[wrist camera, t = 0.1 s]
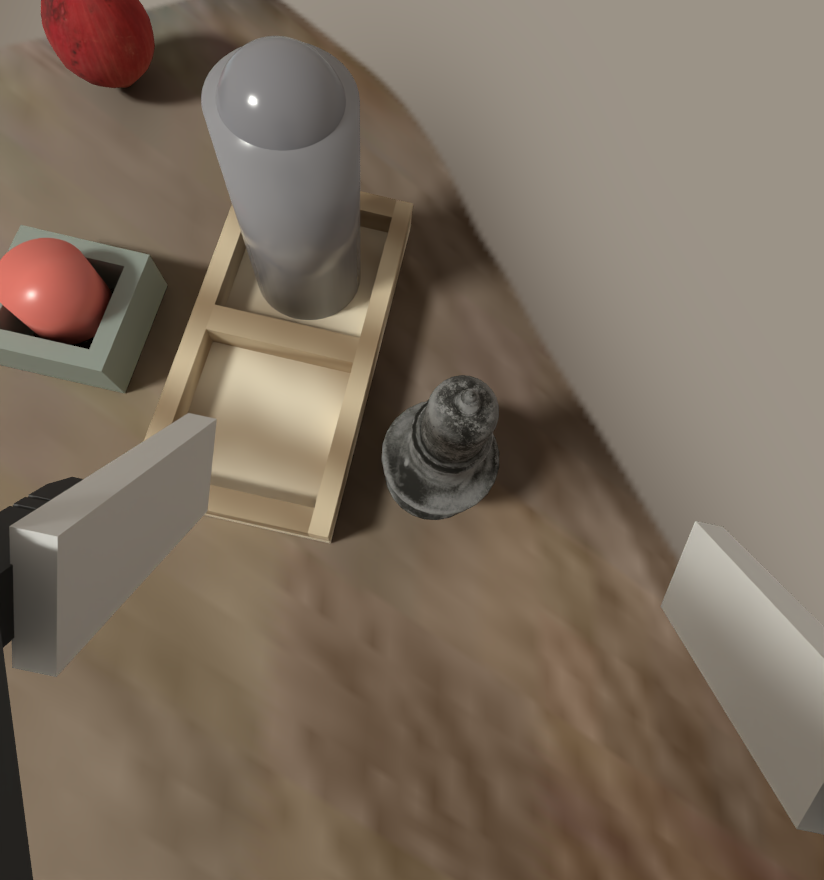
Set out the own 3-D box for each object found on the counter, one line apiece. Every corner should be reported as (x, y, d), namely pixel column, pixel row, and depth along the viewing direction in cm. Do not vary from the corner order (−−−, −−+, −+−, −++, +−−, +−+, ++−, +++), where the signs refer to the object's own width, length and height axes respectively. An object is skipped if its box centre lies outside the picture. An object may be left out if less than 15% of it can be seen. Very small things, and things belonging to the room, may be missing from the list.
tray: (330, 543, 30) (327, 537, 28) (144, 501, 30) (124, 492, 28) (409, 230, 36) (413, 203, 34) (254, 194, 36) (246, 164, 34)
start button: (96, 352, 30) (68, 325, 27) (13, 334, 30) (-23, 304, 27) (125, 282, 32) (102, 249, 29) (47, 264, 32) (15, 229, 29)
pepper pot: (346, 330, 33) (336, 140, 20) (243, 306, 33) (163, 99, 19) (371, 243, 34) (376, 14, 21) (273, 220, 34) (217, -24, 21)
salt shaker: (491, 433, 33) (561, 336, 21) (476, 534, 31) (543, 489, 20) (390, 413, 33) (405, 305, 21) (369, 514, 31) (374, 455, 19)
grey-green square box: (124, 393, 32) (101, 371, 29) (-1, 364, 32) (-37, 339, 29) (167, 285, 34) (149, 254, 31) (50, 258, 34) (21, 224, 31)
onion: (101, 132, 36) (32, 4, 29) (62, 70, 38) (-15, -69, 30) (185, 97, 38) (141, -33, 30) (145, 38, 39) (92, -102, 31)
